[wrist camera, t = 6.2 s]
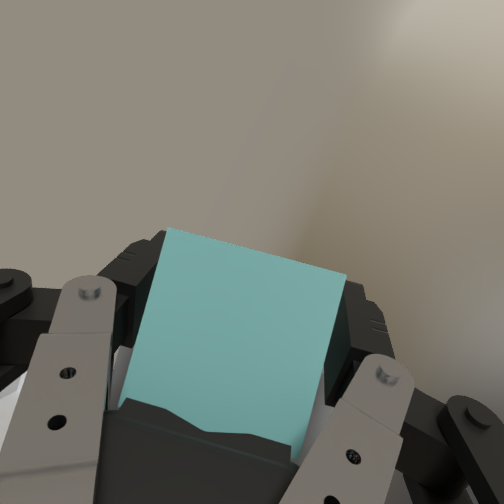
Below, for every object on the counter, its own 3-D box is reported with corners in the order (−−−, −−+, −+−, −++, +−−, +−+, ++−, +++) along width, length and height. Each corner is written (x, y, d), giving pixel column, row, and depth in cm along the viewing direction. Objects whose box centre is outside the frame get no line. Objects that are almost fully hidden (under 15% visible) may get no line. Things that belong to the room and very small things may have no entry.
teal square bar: (117, 406, 8) (167, 226, 8) (223, 307, 28) (237, 257, 28) (298, 460, 7) (347, 275, 8) (273, 321, 27) (287, 271, 28)
